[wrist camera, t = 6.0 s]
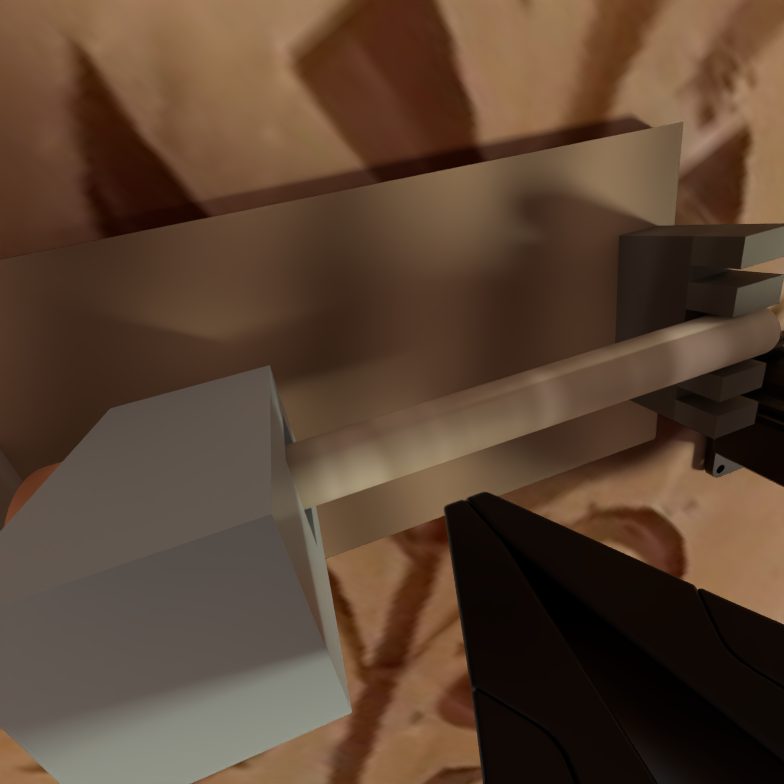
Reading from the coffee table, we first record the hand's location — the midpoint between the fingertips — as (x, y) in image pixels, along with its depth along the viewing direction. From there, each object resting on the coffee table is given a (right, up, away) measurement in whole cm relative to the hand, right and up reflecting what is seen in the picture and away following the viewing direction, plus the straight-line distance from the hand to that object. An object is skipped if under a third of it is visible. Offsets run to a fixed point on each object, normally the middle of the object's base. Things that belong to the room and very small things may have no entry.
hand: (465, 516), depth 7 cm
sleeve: (-6, 0, +4) cm, 7 cm away
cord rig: (-3, +2, +7) cm, 8 cm away
